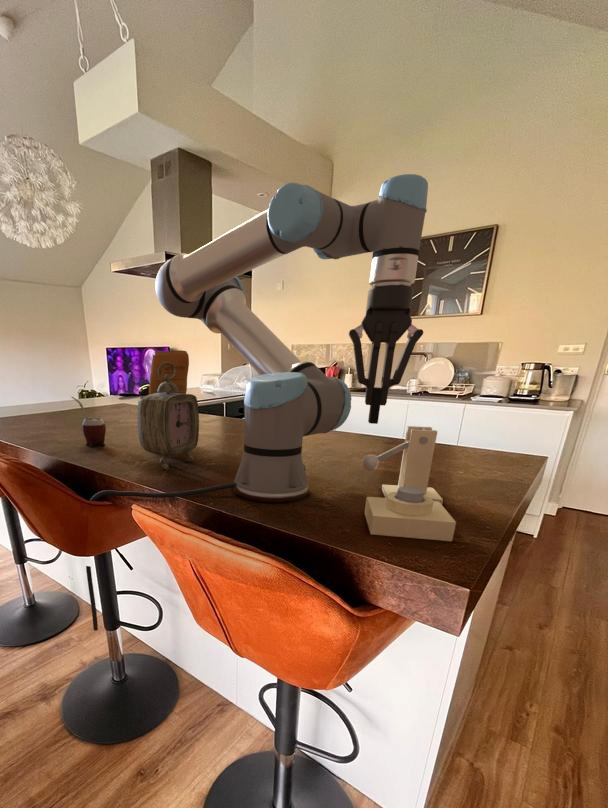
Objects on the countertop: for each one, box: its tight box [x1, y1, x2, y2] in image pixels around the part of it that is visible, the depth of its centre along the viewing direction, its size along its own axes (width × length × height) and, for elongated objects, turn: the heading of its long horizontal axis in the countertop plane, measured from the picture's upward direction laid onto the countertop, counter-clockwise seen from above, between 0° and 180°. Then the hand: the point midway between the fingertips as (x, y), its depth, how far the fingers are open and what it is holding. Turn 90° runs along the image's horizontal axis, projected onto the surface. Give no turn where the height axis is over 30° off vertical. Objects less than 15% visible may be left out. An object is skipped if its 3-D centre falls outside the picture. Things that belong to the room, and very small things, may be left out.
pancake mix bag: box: [148, 349, 190, 395], centre depth 125 cm, size 7×19×28 cm, turn 148°
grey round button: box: [396, 487, 424, 503], centre depth 68 cm, size 4×4×2 cm
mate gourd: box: [71, 396, 107, 448], centre depth 129 cm, size 8×8×15 cm
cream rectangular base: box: [364, 492, 457, 542], centre depth 69 cm, size 12×10×5 cm
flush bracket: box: [381, 425, 444, 506], centre depth 83 cm, size 10×8×14 cm
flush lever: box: [362, 428, 426, 471], centre depth 83 cm, size 13×3×3 cm
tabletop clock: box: [136, 362, 200, 471], centre depth 104 cm, size 14×9×25 cm, turn 150°
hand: (372, 422), depth 82 cm, fingers closed
